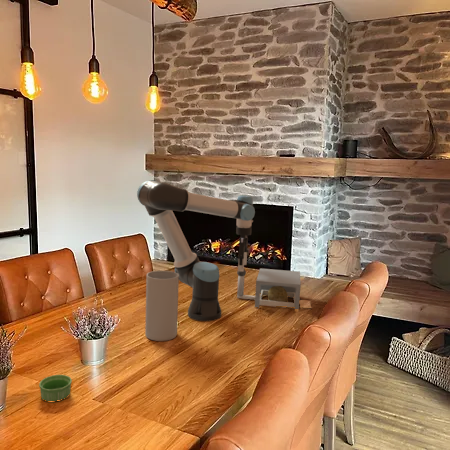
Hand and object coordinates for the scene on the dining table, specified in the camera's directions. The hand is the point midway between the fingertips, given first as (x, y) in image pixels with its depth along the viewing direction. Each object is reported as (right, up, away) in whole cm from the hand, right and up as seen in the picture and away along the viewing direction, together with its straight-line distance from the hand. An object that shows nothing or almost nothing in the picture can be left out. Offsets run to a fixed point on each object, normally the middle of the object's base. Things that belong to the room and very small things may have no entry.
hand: (242, 267), depth 228 cm
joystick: (+12, -16, 0) cm, 20 cm away
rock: (+18, -17, 0) cm, 25 cm away
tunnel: (+21, -17, -1) cm, 27 cm away
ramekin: (-59, -29, -95) cm, 115 cm away
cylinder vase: (-34, -23, -48) cm, 63 cm away
